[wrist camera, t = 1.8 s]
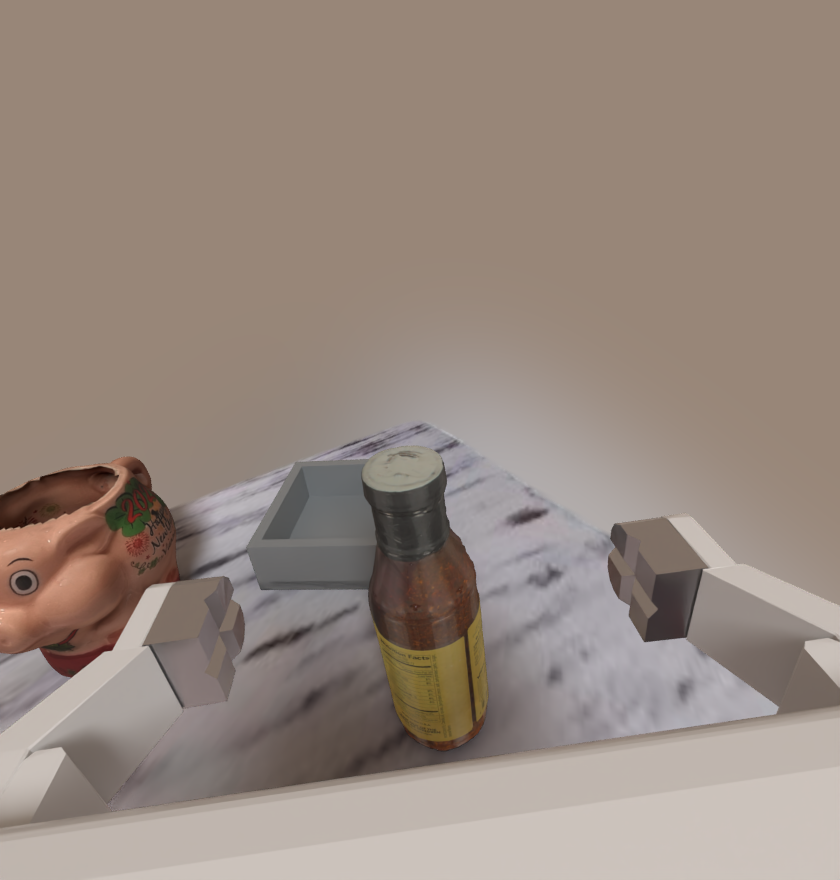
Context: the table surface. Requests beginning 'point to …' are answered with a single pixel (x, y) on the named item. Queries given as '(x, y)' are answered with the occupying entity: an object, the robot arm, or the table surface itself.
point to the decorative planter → (80, 559)
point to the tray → (316, 530)
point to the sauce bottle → (424, 600)
